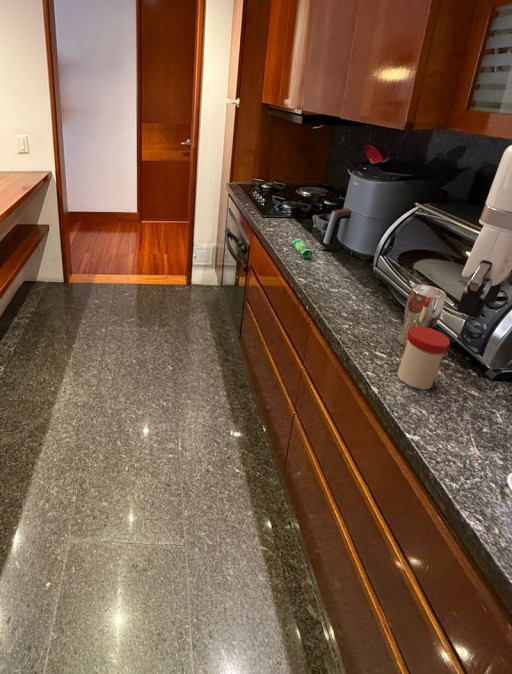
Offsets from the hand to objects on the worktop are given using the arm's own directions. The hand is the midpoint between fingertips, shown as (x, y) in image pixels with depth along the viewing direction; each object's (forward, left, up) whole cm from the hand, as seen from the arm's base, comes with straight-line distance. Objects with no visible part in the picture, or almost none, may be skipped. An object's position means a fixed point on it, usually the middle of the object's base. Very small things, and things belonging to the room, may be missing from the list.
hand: (475, 306), depth 72 cm
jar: (+4, -4, -22) cm, 23 cm away
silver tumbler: (+2, -19, -22) cm, 29 cm away
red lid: (+4, -4, -11) cm, 12 cm away
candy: (+30, -68, -22) cm, 77 cm away
